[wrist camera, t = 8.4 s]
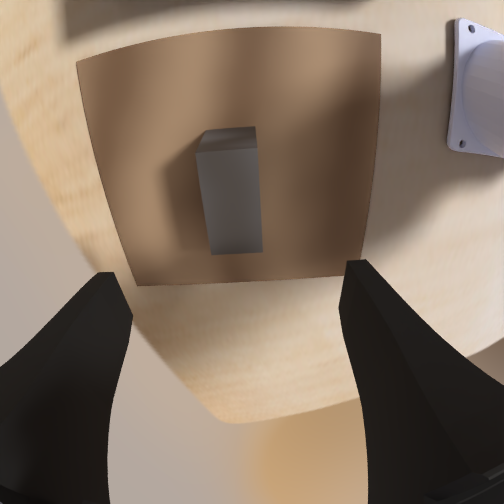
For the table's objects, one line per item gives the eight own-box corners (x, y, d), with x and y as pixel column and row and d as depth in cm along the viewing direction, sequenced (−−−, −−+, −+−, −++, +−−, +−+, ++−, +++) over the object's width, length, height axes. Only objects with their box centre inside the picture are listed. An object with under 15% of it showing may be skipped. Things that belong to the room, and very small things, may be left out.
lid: (374, 34, 12) (415, 34, 8) (354, 266, 21) (371, 313, 17) (83, 60, 12) (37, 70, 9) (140, 278, 21) (124, 324, 18)
